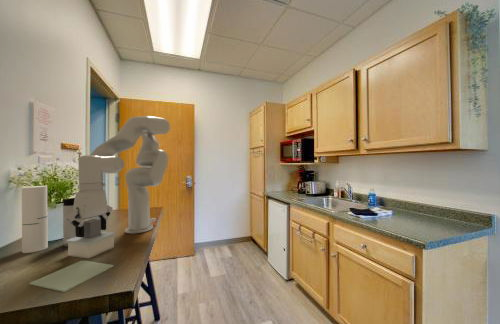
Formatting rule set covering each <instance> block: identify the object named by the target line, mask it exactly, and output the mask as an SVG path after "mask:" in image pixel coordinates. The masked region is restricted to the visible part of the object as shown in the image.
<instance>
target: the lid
mask: <svg viewBox="0 0 500 324" xmlns="http://www.w3.org/2000/svg"><path fill="white" fill-rule="evenodd" d="M83 226H84V237H82V238H81V237H74V238H71V239H68V240H66V243H73V244H81V245H90V244H93V243H95V242H98V241H101V240H103V239H106V238H109V237H112V236H114V237H115V236H116V235H117V233H116V232H112V231H103V230H101V220H100V219H96V218H92V219H87V220H85V221H84V223H83Z"/></svg>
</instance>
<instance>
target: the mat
mask: <svg viewBox="0 0 500 324" xmlns="http://www.w3.org/2000/svg"><path fill="white" fill-rule="evenodd" d="M113 267H115V265H114V264H110V263H109V264H108V263H102V262H96V261H90V260H89V261H88V260H84V259H83V260H80V261H78V262H75V263H73V264H70V265H68V266H66V267H64V268H61V269H59V270H56V271H54V272H52V273H49V274H47V275H45V276H42V277H40V278H38V279H36V280H33V281H30V282H29V285H30V286H34V287H39V288H43V289H49V290H54V291H58V292H62V293H66V292H68V291H70V290H72V289H74V288H76V287H78V286H79V285H82V284H83V283H85V282H87V281H89V280H91V279H93V278H95V277H97V276H98V275H100V274H102V273H104V272H105V271H107V270H110V269H111V268H113Z"/></svg>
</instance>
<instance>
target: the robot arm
mask: <svg viewBox="0 0 500 324" xmlns="http://www.w3.org/2000/svg"><path fill="white" fill-rule="evenodd" d="M170 129H171V125H170V123H169V121H168V120H167V119H166V118H165V117H164V118H163V117H158V116H152V115H144V116H143V115H141V116H132V117H130V118H128V119H127V121H126V122H125V123H124V124H123V126H122V127H121V128H120V130H118V132H117V133H116V134H115V136H112V137H111V138H109V139H108V140H105V141H104V142H102V143H101V144H99V145H98V146H97V147H96V148H95V149H94V150H93V151H92V152H91V153H90V155H89V154H88V155H87V154H86V155H81V156H79V157H78V191H77V192H75V196H74V198H75V199H74V207H73V212H72V213H71V214H70V215H69V216H67V217H66V219H67V220H68V221H69V222H70V223H71V224H72V225H74V226H75V230H76V237H81V238H82V237H84V226H82V225H83V223H84V221H87V220H89V219H91V218H92V219H93V218H96V217H99V220H101V231H105V230H107V220H108V219H109V216H110V215H111V212H112V210H113V207H112V206H110V205H108V202H107V201H108V200H107V193H106V190H105V189H104V187H106V184H105V182H104V174H117V173H119V172H122V170H123V169H124V167H125V161H124V160H123V159H122V158H121V157H120V156H117V155H116V154H118V153H122V152H125V151H127V150H129V149H131V148H133V147H134V146H135V145H136V143H137V141H138V140H139V138H140V137H141V138H142V139H141V140H142V143H141V146H140V149H139V151H138V154H137V156H136V161H135V163H136V165H137V166H138V167H133V168H130V169H129V170H127V172H126V174H125V182H126V183H125V184H126V187H127V196H128V198H127V199H128V200H127V202H128V203H127V204H128V206H127V208H128V209H127V210H128V214H127V215H128V227H126V228H125V229H124V232H125V233H126V234H140V233H146V232H148V231H151V230H152V229H154V225H153V224H152V223H154V222H156V221H157V218H156V217H152V218H151V215H150V212H151V211H150V210H151V209H150V208H151V207H150V192H149V190H148V188H147V187H157V186H160V185H161V183H162V182H163V179H164V177H165V173H166V171H167V170H166V169H167V167H168V164H169V163H168V162H169V155H168V154H167V152H166V151H165V150H164V149H159V148H160V143H159V141H158V139H157V138H156V137H155V135H167V134H168V132H170ZM74 218H75V219H76V220H75V219H74Z"/></svg>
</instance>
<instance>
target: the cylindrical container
mask: <svg viewBox="0 0 500 324" xmlns="http://www.w3.org/2000/svg"><path fill="white" fill-rule="evenodd" d="M48 210H49V209H48V185H33V186H32V185H31V186H22V187H21V252H22V253H23V254H30V253H37V252H40V251H43V250H46V249H47V248H48V247H49V240H48V239H49V236H48V235H49V234H48V233H49V230H48V229H49V228H48V227H49V225H48V219H49V218H48V215H49V213H48Z"/></svg>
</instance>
